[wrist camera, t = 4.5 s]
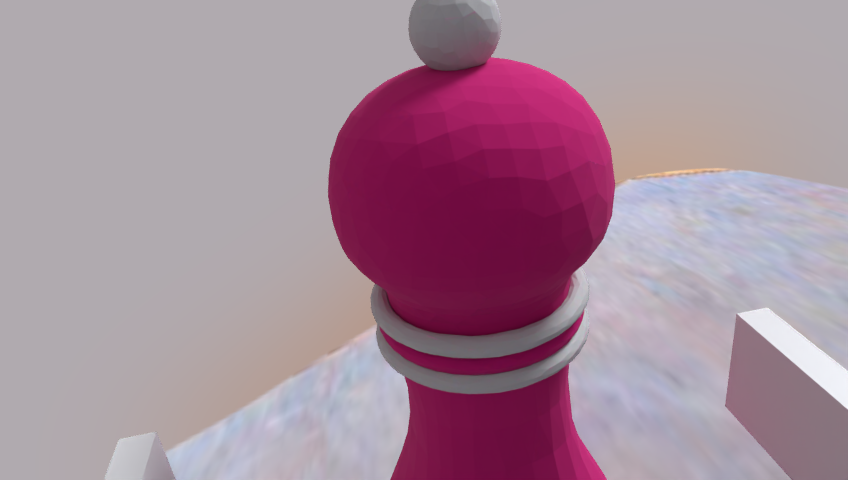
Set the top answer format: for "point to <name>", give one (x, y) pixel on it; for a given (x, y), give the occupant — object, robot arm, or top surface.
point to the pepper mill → (476, 246)
